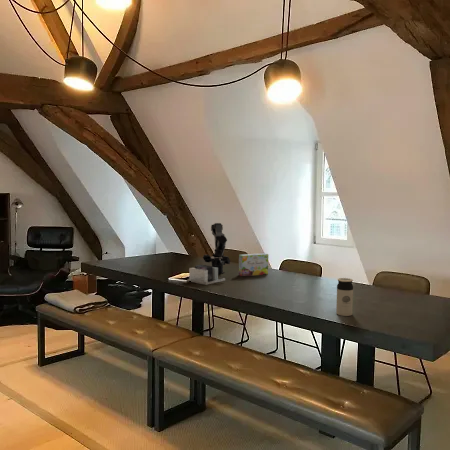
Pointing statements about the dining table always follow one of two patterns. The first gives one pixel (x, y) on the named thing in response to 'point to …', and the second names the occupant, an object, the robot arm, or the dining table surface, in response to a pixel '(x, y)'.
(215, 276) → the free jaw
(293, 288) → the dining table surface
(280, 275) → the dining table surface
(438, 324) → the dining table surface
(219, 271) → the robot arm
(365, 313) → the dining table surface
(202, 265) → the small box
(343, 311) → the travel mug
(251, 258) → the snack box
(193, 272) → the vise
